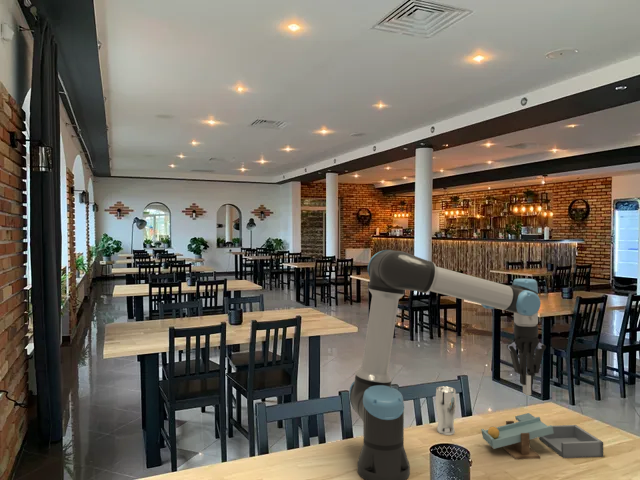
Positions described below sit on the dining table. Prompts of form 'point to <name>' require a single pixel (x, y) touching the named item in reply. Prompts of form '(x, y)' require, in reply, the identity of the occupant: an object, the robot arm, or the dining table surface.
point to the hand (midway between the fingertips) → (527, 393)
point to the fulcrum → (521, 447)
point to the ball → (493, 432)
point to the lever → (518, 431)
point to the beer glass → (445, 409)
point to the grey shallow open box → (573, 442)
